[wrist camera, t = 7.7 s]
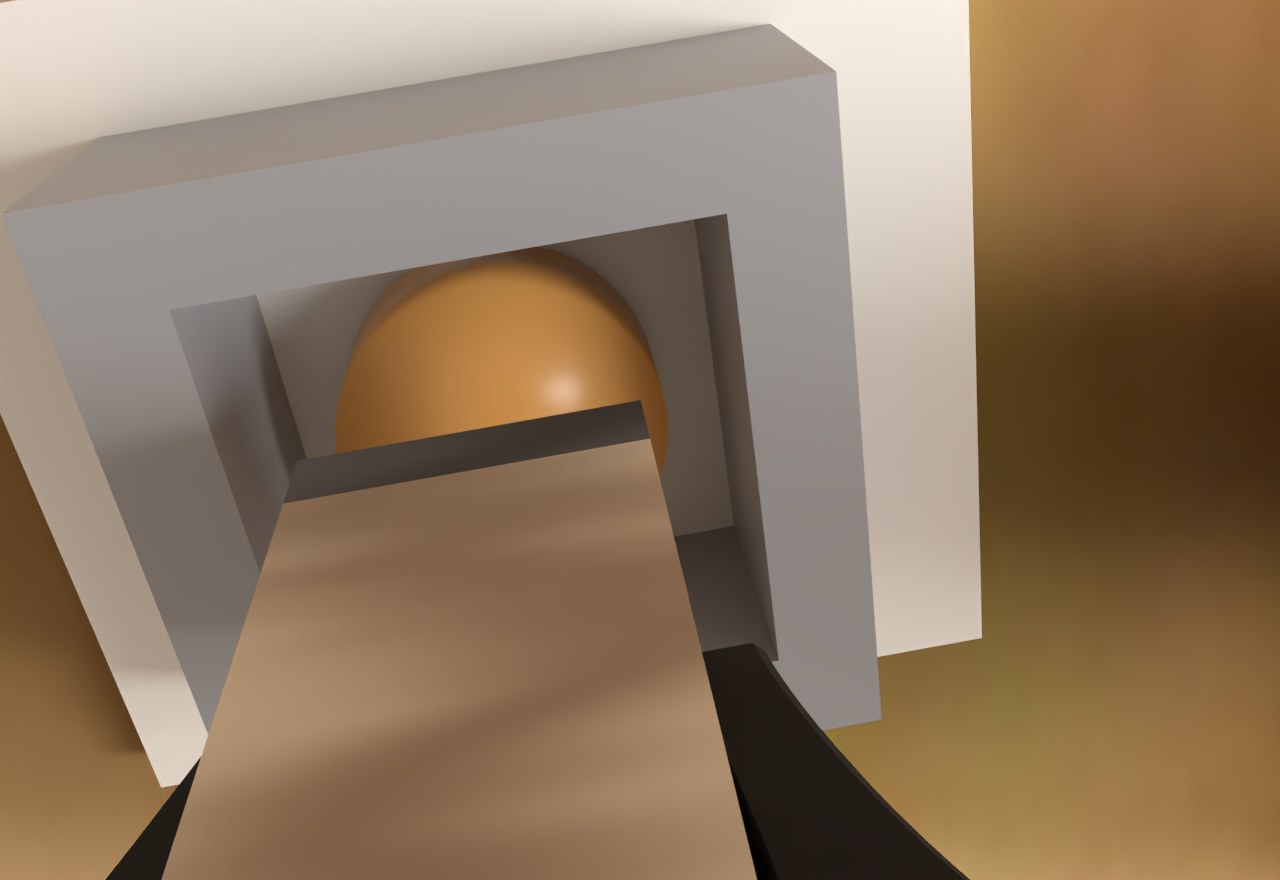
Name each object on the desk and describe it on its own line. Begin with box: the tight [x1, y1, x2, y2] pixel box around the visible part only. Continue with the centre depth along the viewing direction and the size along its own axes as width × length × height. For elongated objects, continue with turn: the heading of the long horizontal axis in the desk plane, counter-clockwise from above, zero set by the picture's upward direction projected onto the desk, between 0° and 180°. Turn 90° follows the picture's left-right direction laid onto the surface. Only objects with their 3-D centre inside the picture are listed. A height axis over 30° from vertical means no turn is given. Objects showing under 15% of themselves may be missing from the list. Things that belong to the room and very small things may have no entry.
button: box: [335, 247, 669, 477], centre depth 19 cm, size 5×5×2 cm
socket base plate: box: [0, 0, 982, 788], centre depth 19 cm, size 16×14×5 cm
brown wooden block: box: [161, 400, 757, 880], centre depth 11 cm, size 4×4×9 cm
